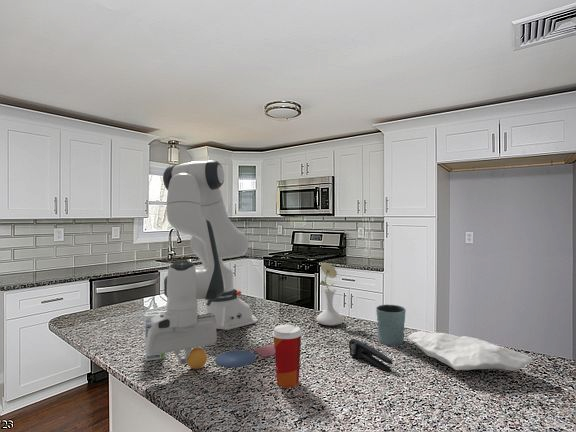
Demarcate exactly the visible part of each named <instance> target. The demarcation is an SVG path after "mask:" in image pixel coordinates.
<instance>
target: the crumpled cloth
mask: <svg viewBox="0 0 576 432" xmlns="http://www.w3.org/2000/svg"><path fill="white" fill-rule="evenodd" d="M406 339H407V340H409V341H410V343H413V344H414V345H416V346H417V347H418V348H419V349H420V350H421V351H423V353H424V354H425V355H427V356H428V357H431V358H433V359H436V360H437V361H439V362H441V363H443V364H445V365H447V366H448V367H450V368H452V369H453V370H455V371H471V370H491V369H492V370H493V369H497V370H503V371H512V372H513V371H518V370H520V369H522V368H524V367H525V366H527V365H529V364H531V363H533V358H532V357H530V356H528V355H527V354H524V353H522V352H519V351H516V350H512V349H509V348H506V347H502V346H500V345H497V344H493V343H491V342H488V341H487V340H483V339H480V338H476V337H471V336H466V335H464V336H457V335H454V334H450V333H444V332H429V331H421V330H418V331H416V332H412V333H410V334H408V335H407V336H406Z"/></svg>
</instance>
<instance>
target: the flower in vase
mask: <svg viewBox="0 0 576 432" xmlns="http://www.w3.org/2000/svg"><path fill="white" fill-rule="evenodd" d="M320 270H321V271H322V273H323V274H324V275H325V277H324V280H321V281H320V283H319V284H320V285H322V286H326V289H324V290H323V292H324V293H325V296H326V307H325V309H324V310H322V312H321V313H319V314H318V315H317V317H316V318H315V319H316V320H315V321H316V322H317V323H319V324H321V325H323V326H339V325H341V324H343V322H344V321H345V319H344V317H343V315H342V314H340V313H339V312H338V311H336V310H335V308H334V306H333V302H334V301H333V299H334V296H335V295H334V294H335V293H336V292H337V290H336V289H333V288H330V287H332V286H333V285H334V283H331V284H329V286H328V284H327V282H326V281H327V277H329V278H331V279H332V278H337V275H338V272H337V270H336V268H335V267H334V266H333V265H332V264H331V263H330V262H328V263H327V262H323V263H321V264H320Z"/></svg>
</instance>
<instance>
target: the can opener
mask: <svg viewBox="0 0 576 432" xmlns="http://www.w3.org/2000/svg"><path fill="white" fill-rule="evenodd" d="M348 349H349V355H350V356H351V357H353V358H356V359H365V360H366V361H368V362H370V363H371V364H372V365H374V366H375V367H377V368H378V369H380V370H382V371H385V372H386V373H389V372H392V369H391V368H390V367H389V366H388V365H391V364H393V360H392V359H391V358H390V357H389V356H386V355H385V354H383V353H382V352H380V351H379V350H377V349H376V348H375V347H373V346H371V345H369V344H368V343H367V342H366V341H365V342H362V340H358V339H356V338H351V339H350V340H349V341H348ZM383 362H384V363H383ZM385 363H386V364H385ZM387 364H388V365H387Z"/></svg>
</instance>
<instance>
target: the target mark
mask: <svg viewBox="0 0 576 432" xmlns="http://www.w3.org/2000/svg"><path fill="white" fill-rule="evenodd" d="M256 360H257V355H256V354H255V353H254V352H252V351H250V350H249V351H248V350H244V349H243V350H242V349H235V350H234V349H233V350H228V351H225V352H221V353H220V354H218V355H216V357H215V359H214V361H215V363H216V364H217V365H218V366H221V367H226V368H237V367H240V368H241V367H245V366H248V365H251V364H252V363H253V362H255V361H256Z"/></svg>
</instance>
